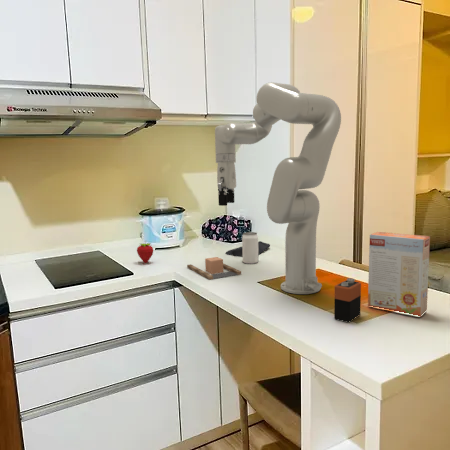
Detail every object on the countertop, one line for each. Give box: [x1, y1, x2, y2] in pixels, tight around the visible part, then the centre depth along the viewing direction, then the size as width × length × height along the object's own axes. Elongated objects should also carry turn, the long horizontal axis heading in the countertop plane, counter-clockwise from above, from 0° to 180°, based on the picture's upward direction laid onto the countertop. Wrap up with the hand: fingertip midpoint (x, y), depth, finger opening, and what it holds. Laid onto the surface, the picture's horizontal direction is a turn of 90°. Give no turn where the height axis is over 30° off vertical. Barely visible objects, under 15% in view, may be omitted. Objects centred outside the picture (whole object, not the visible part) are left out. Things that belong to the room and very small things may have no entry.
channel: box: [186, 262, 242, 281], centre depth 159 cm, size 20×13×1 cm, turn 28°
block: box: [204, 256, 224, 275], centre depth 158 cm, size 5×5×5 cm
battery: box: [333, 277, 362, 323], centre depth 109 cm, size 4×7×10 cm, turn 137°
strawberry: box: [136, 241, 154, 264], centre depth 173 cm, size 6×8×10 cm
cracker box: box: [367, 231, 431, 316], centre depth 112 cm, size 14×6×21 cm, turn 48°
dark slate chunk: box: [225, 240, 271, 258], centre depth 190 cm, size 15×22×5 cm
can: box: [241, 231, 259, 265], centre depth 170 cm, size 6×6×12 cm
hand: (226, 204), depth 160 cm, fingers open, 9 cm apart
